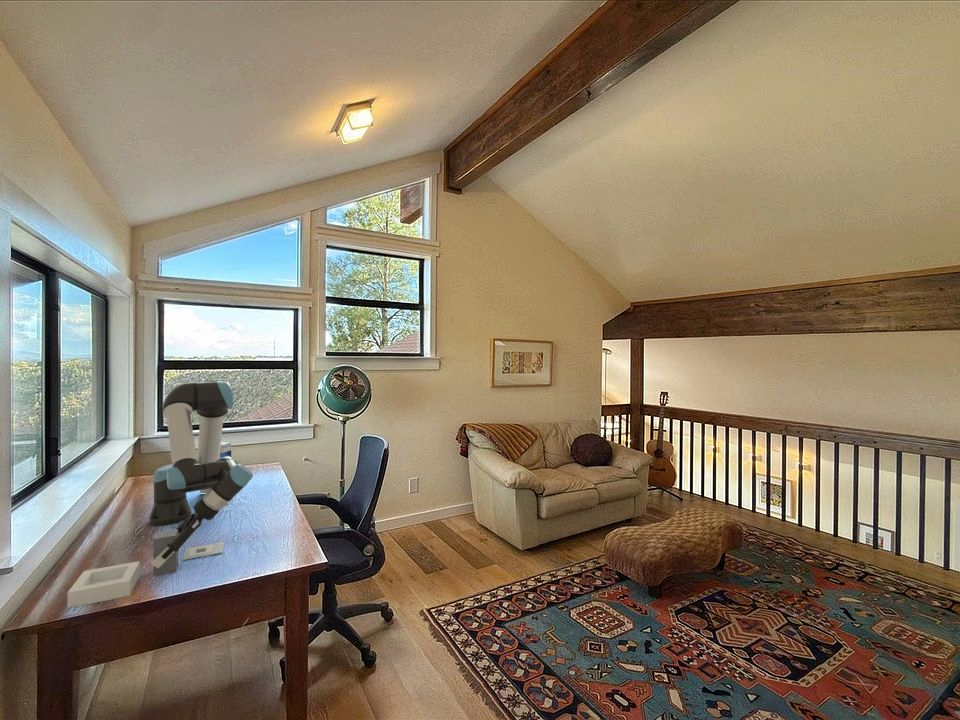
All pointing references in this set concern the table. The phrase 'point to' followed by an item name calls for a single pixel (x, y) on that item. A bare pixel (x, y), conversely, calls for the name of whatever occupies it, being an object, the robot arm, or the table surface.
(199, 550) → the card
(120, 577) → the socket base
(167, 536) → the charcoal pillar
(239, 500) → the table surface
